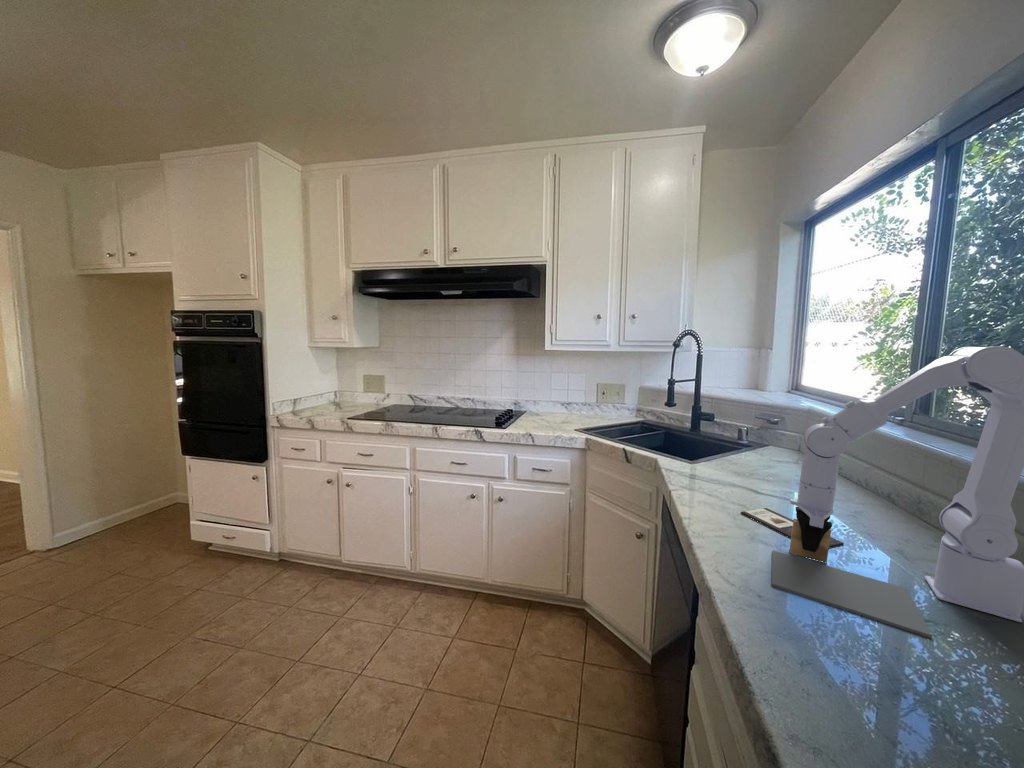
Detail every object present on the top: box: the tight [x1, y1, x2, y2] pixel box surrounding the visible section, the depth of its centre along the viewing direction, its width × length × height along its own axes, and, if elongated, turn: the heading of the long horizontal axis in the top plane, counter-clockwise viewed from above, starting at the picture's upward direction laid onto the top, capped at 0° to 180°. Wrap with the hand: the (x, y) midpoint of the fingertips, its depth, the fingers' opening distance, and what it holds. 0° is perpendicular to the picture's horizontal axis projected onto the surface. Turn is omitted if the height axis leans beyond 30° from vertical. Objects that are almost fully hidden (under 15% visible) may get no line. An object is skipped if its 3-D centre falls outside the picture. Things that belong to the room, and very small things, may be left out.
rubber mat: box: [771, 550, 933, 639], centre depth 69 cm, size 20×14×1 cm
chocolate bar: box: [740, 507, 844, 548], centre depth 92 cm, size 9×1×18 cm
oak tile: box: [789, 518, 832, 564], centre depth 79 cm, size 6×2×7 cm, turn 56°
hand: (808, 547), depth 80 cm, fingers closed on oak tile, 2 cm apart
